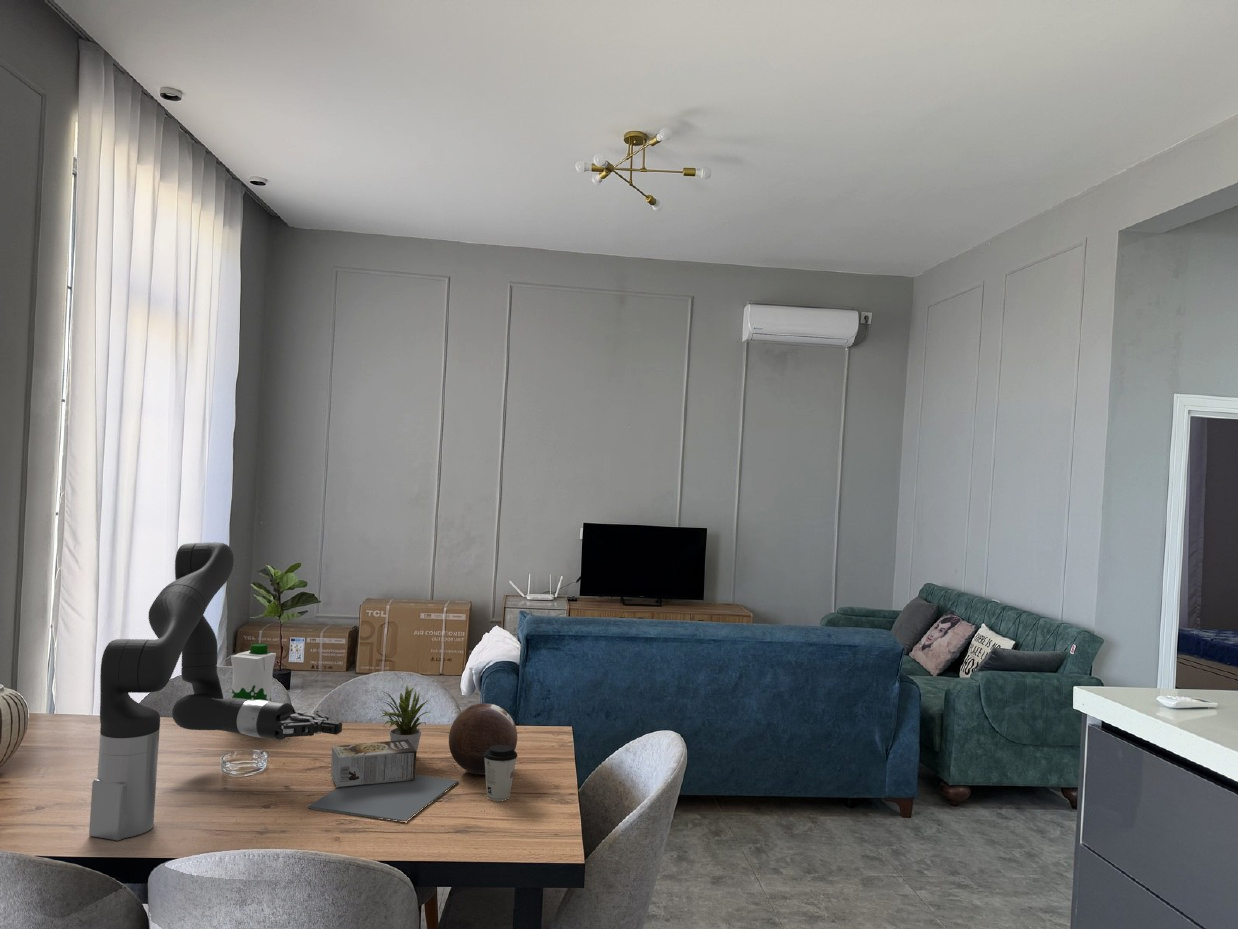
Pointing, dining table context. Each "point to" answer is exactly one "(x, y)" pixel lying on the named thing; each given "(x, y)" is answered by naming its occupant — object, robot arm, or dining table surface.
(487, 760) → the coffee cup
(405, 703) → the house plant
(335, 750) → the coffee box
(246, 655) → the milk carton
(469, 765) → the wooden sphere
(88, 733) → the dining table surface
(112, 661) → the robot arm
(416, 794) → the rubber mat
